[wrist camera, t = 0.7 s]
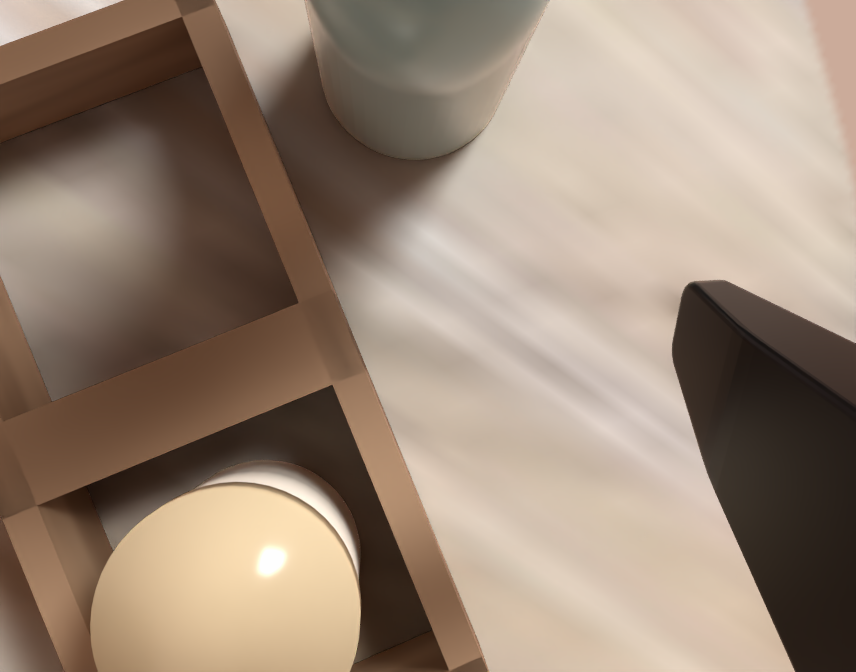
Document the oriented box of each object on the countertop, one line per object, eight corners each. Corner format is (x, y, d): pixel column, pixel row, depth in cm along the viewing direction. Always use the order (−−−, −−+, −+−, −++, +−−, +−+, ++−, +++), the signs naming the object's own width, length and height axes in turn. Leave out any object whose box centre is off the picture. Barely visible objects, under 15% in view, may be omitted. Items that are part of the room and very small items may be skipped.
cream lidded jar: (394, 608, 22) (400, 692, 16) (208, 688, 21) (150, 802, 16) (319, 425, 22) (300, 448, 16) (132, 502, 21) (48, 552, 16)
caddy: (478, 643, 22) (495, 689, 19) (170, 777, 21) (136, 847, 18) (226, 24, 22) (201, -29, 19) (-89, 143, 21) (-167, 107, 18)
